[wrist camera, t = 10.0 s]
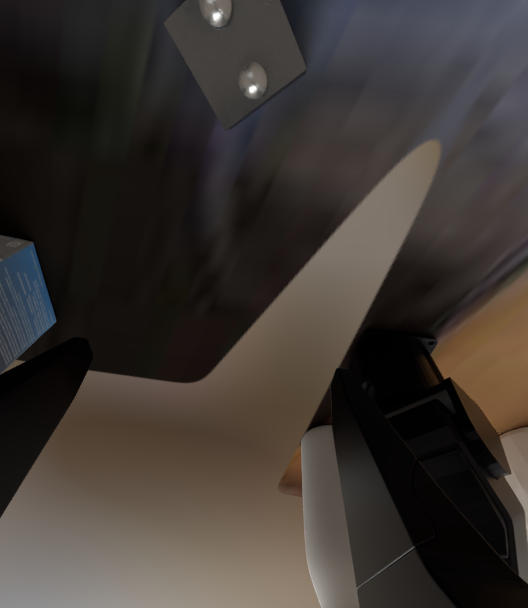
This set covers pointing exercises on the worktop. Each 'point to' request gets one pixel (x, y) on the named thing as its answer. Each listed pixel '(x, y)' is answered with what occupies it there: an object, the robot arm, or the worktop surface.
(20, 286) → the label tape box
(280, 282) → the worktop surface
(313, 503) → the milk bottle
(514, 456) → the bottle
